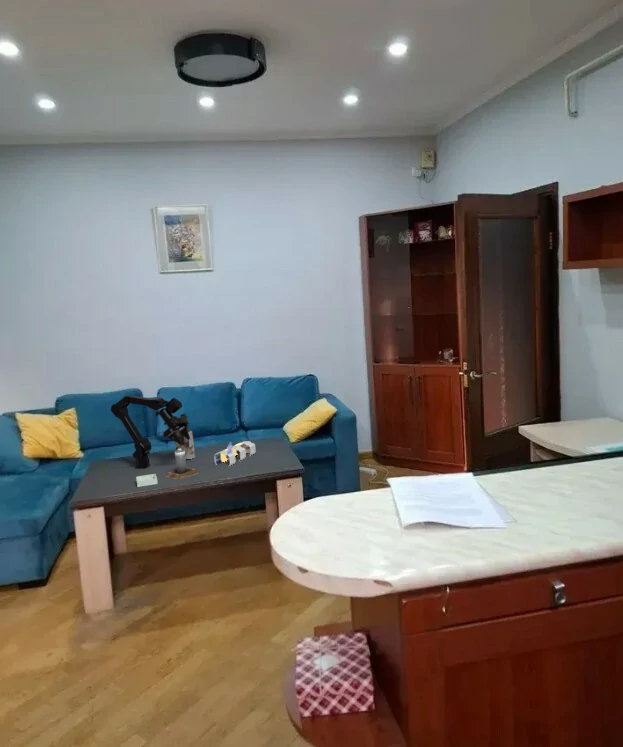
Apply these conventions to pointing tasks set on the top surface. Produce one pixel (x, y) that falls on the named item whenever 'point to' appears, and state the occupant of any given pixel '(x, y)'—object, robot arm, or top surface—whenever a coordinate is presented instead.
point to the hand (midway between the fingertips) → (185, 441)
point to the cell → (180, 461)
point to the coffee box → (186, 445)
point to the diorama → (235, 452)
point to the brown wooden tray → (174, 474)
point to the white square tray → (146, 480)
